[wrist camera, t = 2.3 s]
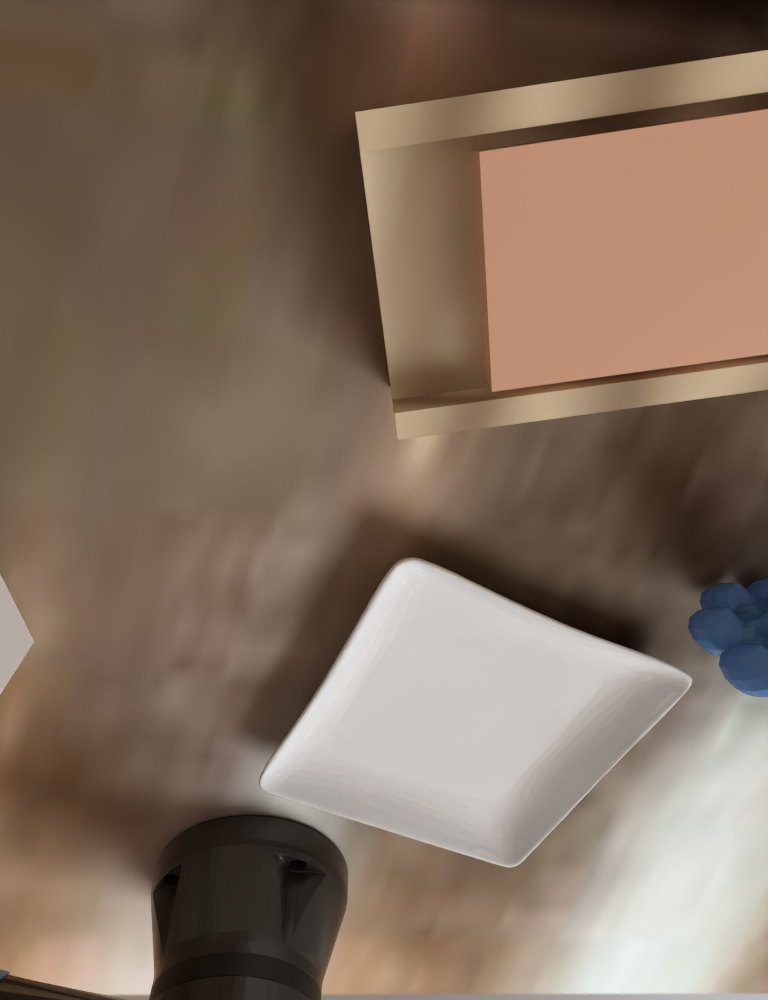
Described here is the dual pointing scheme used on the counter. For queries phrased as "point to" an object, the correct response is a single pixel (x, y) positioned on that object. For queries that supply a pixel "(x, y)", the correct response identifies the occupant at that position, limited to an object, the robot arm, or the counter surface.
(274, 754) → the salad plate
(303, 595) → the counter surface
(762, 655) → the grapes
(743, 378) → the box
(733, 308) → the block
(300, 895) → the robot arm
